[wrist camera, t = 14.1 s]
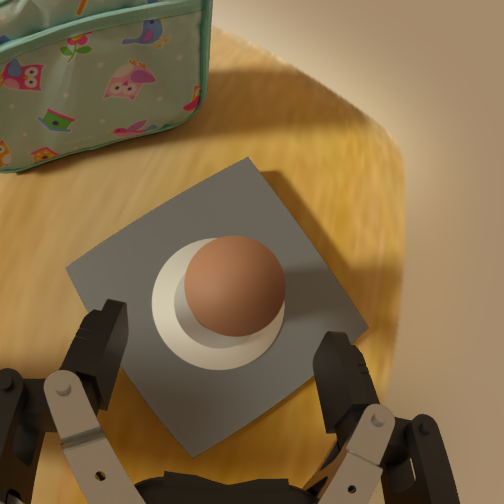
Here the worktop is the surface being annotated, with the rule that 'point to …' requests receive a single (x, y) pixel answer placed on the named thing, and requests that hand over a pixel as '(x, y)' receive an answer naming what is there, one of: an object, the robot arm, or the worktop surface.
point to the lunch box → (97, 73)
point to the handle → (229, 292)
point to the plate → (172, 335)
